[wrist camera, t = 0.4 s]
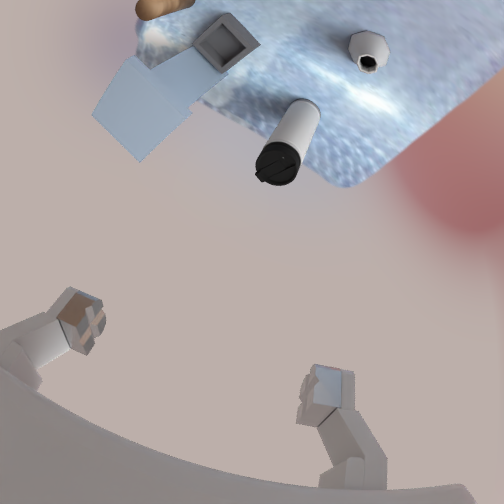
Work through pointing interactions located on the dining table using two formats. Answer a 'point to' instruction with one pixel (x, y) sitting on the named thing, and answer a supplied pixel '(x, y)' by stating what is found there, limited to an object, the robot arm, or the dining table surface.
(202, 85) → the awning
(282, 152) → the travel mug
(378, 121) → the dining table surface
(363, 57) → the flask
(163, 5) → the peg
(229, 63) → the socket
